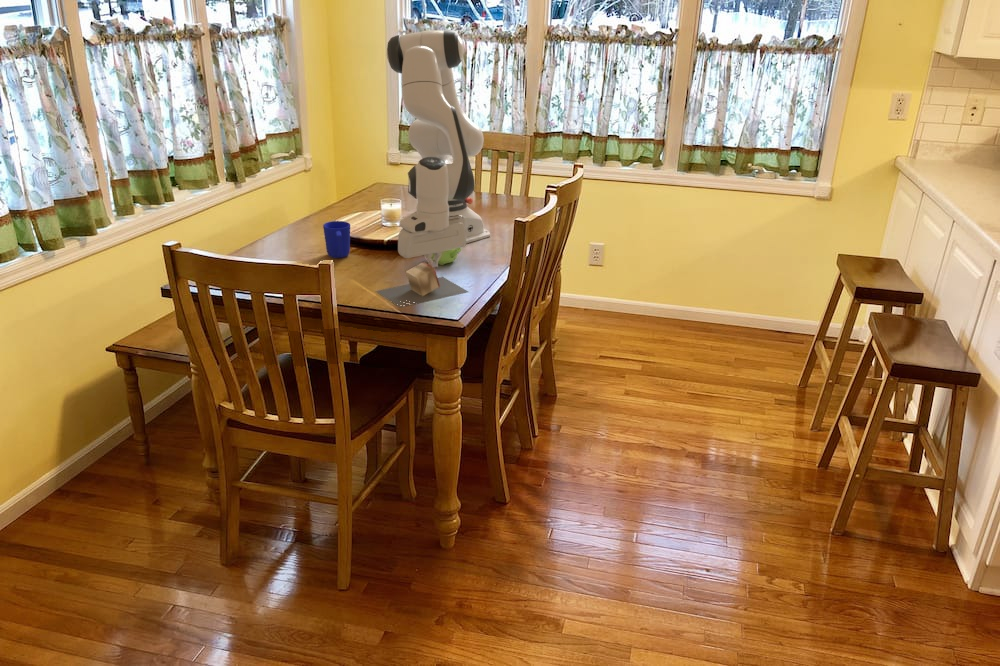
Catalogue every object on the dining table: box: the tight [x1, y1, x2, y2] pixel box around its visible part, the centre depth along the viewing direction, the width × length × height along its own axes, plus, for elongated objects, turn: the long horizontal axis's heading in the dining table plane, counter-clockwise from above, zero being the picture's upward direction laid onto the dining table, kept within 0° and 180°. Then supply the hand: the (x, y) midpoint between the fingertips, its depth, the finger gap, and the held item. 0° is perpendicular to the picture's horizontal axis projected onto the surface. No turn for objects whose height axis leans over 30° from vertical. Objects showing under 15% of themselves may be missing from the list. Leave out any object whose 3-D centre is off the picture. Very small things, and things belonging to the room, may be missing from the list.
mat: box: [375, 276, 469, 309], centre depth 224 cm, size 22×14×1 cm, turn 125°
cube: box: [405, 261, 440, 296], centre depth 223 cm, size 6×6×6 cm
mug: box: [322, 220, 351, 259], centre depth 247 cm, size 8×12×10 cm
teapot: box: [431, 248, 462, 266], centre depth 246 cm, size 11×12×8 cm
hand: (433, 267), depth 223 cm, fingers closed
